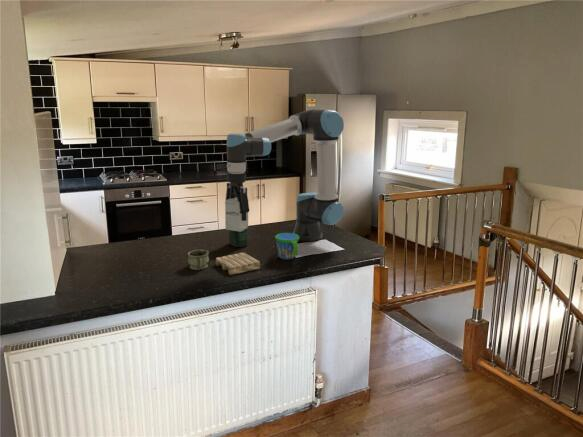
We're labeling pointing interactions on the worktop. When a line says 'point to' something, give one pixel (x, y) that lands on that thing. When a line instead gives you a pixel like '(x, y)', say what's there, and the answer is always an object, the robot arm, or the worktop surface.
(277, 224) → the worktop surface
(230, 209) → the supplement box
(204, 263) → the vessel
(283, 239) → the snack cup
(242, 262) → the pallet
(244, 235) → the coffee jar
